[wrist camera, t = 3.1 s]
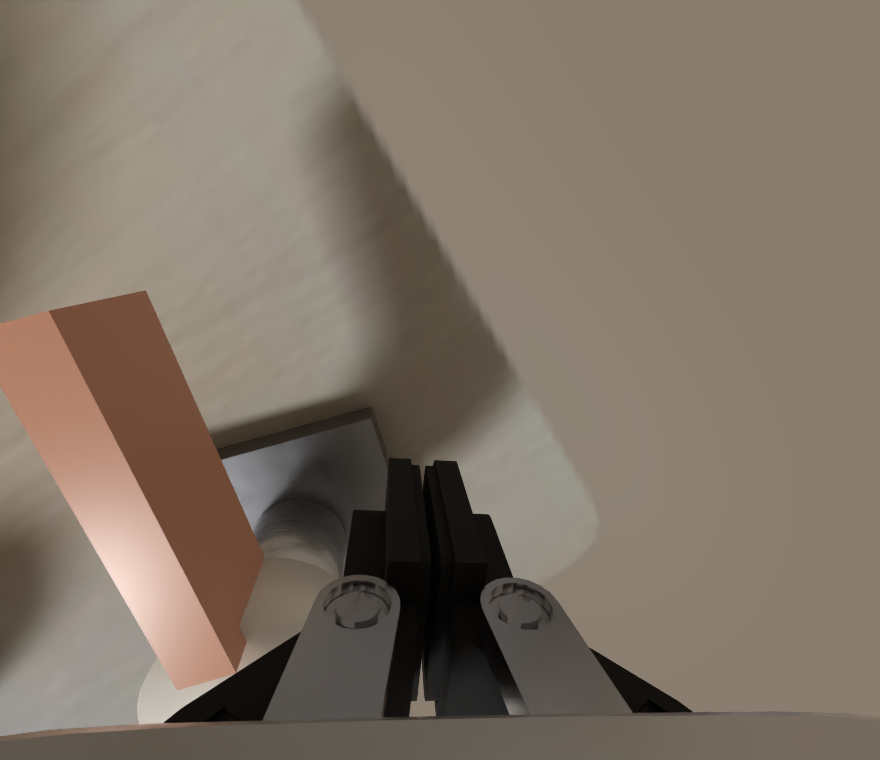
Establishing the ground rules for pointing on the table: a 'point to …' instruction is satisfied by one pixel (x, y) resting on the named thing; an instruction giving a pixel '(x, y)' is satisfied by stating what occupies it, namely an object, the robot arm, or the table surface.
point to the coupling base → (310, 486)
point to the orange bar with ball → (152, 494)
